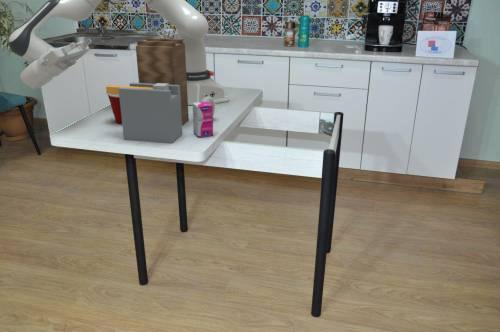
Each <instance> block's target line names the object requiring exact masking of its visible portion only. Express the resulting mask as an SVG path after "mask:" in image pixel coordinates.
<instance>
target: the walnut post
mask: <svg viewBox="0 0 500 332" xmlns="http://www.w3.org/2000/svg"><path fill="white" fill-rule="evenodd" d="M136 42H137V43H136V44H137V45H135V55H136V63H137V64H136V65H137V75H138V76H137V78H138V83H150V84H157V83H166V84H169V85H180V97H181V115H182V127H183V126H184V125H185V124H186V123H188V122H189V121H190V120H189V119H190V117H189V105H188V95H187V75H186V56H185V43H183V39H178V38H161V37H160V38H159V37H157V38H154V37H153V38H152V37H150V38H149V37H148V38H146V39H145V40H137V41H136Z"/></svg>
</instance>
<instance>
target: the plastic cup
mask: <svg viewBox="0 0 500 332" xmlns="http://www.w3.org/2000/svg"><path fill="white" fill-rule="evenodd" d="M106 95H107V97H108V100H109V103H110V106H111V110H112V114H113V117H114V121H115V122H116V124H119V125H122V116H121V107H120V97H119V95H118V94H107V92H106Z"/></svg>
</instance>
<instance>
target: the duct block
mask: <svg viewBox="0 0 500 332" xmlns="http://www.w3.org/2000/svg"><path fill="white" fill-rule="evenodd" d="M153 85H155V84H150V83H139V82H131V83H129V86H133V87H151V88H153ZM119 97H120V107H121V116H122V124H121V125H122V135H123V140H127V141H129V140H130V141H136V142H137V141H138V142H139V141H140V142H151V143H152V142H153V143H162V144H163V143H165V144H173V143H174V142H176V141H177V140H178V139H179V138H181V136H183V135H182V134H183V133H184V132H183V126H182V115H181V97H180V85H169V90H158V89H141V88H123V87H121V88H119ZM176 139H177V140H176Z"/></svg>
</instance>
